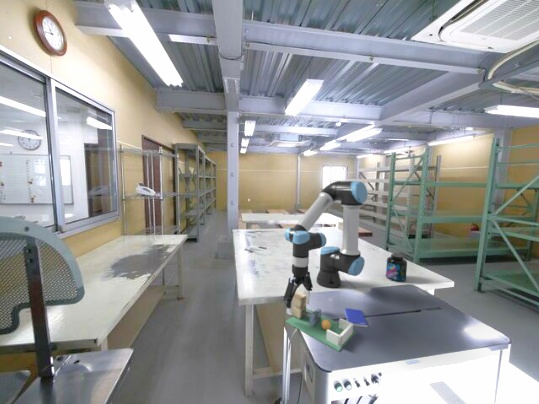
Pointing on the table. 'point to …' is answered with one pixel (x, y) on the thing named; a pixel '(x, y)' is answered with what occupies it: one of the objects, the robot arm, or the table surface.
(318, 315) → the rod slider
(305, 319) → the pitch mat
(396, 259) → the container
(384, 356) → the table surface
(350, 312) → the blue flat square slab
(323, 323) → the ball
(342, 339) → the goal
